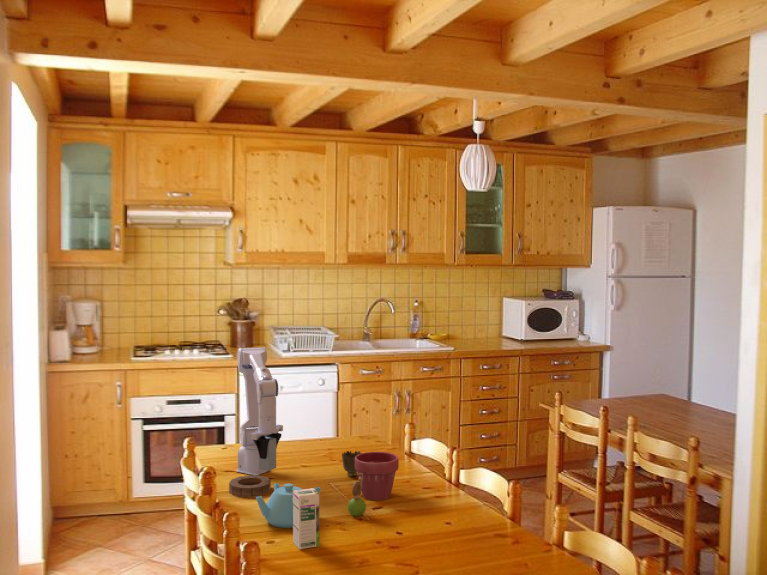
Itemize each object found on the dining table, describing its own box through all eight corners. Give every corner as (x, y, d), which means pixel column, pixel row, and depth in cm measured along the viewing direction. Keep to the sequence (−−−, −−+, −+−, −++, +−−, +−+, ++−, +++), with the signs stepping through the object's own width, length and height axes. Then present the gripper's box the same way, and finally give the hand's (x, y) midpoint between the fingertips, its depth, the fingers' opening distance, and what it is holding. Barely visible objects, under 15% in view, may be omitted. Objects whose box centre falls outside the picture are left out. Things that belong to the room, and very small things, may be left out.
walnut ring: (221, 492, 245) (221, 483, 245) (247, 482, 256) (247, 473, 256) (252, 499, 238) (252, 490, 238) (278, 488, 249) (278, 479, 249)
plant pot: (360, 487, 251) (360, 449, 251) (401, 490, 248) (402, 452, 248) (349, 501, 237) (349, 461, 237) (393, 505, 234) (393, 464, 234)
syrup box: (299, 550, 199) (299, 496, 198) (292, 542, 204) (292, 489, 204) (319, 546, 201) (319, 493, 200) (312, 539, 207) (312, 486, 206)
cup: (364, 473, 267) (364, 450, 267) (361, 479, 260) (361, 456, 259) (343, 472, 268) (343, 450, 268) (340, 478, 261) (340, 455, 260)
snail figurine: (369, 512, 227) (369, 473, 227) (362, 520, 221) (362, 479, 221) (352, 510, 229) (353, 471, 229) (344, 517, 223) (345, 477, 222)
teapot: (252, 526, 215) (252, 489, 215) (274, 509, 230) (274, 474, 229) (301, 533, 211) (301, 495, 210) (321, 515, 225) (321, 479, 225)
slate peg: (259, 469, 249) (259, 439, 248) (266, 466, 252) (266, 436, 252) (268, 471, 247) (268, 440, 246) (276, 468, 250) (276, 438, 250)
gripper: (263, 421, 241) (263, 463, 241) (290, 413, 253) (290, 453, 254) (245, 419, 244) (245, 460, 245) (273, 411, 257) (273, 450, 257)
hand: (267, 456), depth 249 cm, fingers closed on slate peg, 4 cm apart
